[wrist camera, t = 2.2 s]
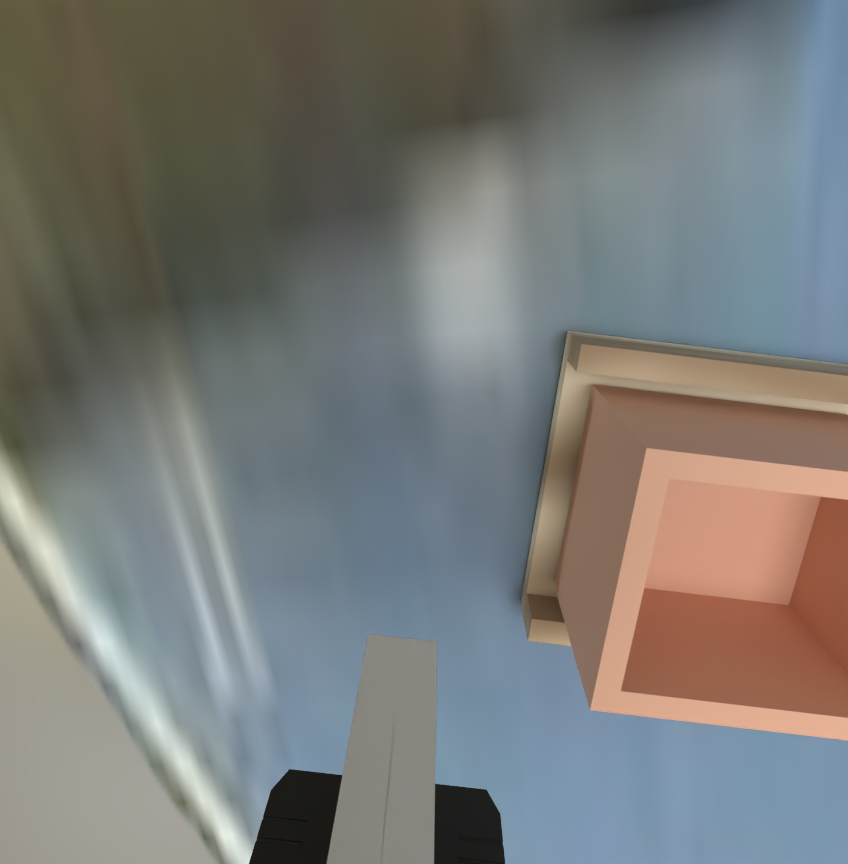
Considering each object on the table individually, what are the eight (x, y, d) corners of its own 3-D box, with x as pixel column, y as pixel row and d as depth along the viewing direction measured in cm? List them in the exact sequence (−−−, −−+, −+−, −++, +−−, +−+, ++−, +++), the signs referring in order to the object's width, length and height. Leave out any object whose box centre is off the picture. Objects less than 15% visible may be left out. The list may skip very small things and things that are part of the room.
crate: (592, 384, 27) (646, 447, 20) (853, 415, 27) (1006, 490, 20) (554, 586, 30) (589, 710, 22) (794, 614, 30) (909, 747, 22)
